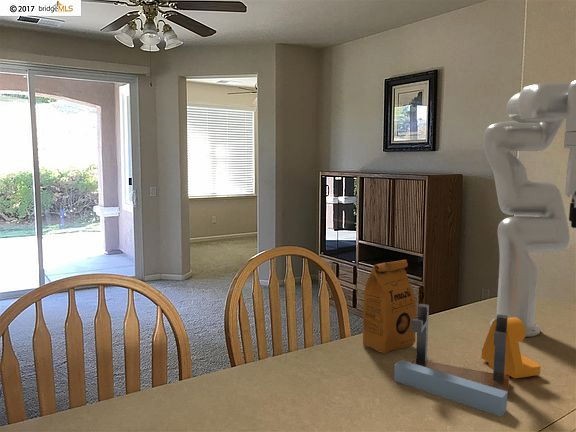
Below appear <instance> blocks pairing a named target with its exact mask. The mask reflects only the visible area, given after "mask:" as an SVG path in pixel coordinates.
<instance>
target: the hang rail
mask: <svg viewBox="0 0 576 432" xmlns="http://www.w3.org/2000/svg"><path fill="white" fill-rule="evenodd" d="M393 380H394V382H396V383H400V384H403V385H407V386H409V387H411V388H414V389H417V390H421V391H424V392H427V393H429V394H433V395H436V396H439V397H442V398H444V399H448V400H450V401H454V402H457V403H459V404H463V405H465V406H468V407H471V408H474V409H477V410H480V411H483V412H486V413H489V414H492V415H495V416H498V417H503V415H504V414H505V413H506V411H507V405H508V398H507V391H503V390H500V389H497V388H493V387H490V386H487V385H483V384H480V383H477V382H473V381H470V380H467V379H463V378H460V377H457V376H453V375H450V374H447V373H443V372H440V371H437V370H433V369H430V368H427V367H423V366H420V365H417V364H413V363H412V362H409V361H407V360H403V359H400V360H399V361H398V362H396V363H394V378H393Z"/></svg>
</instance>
